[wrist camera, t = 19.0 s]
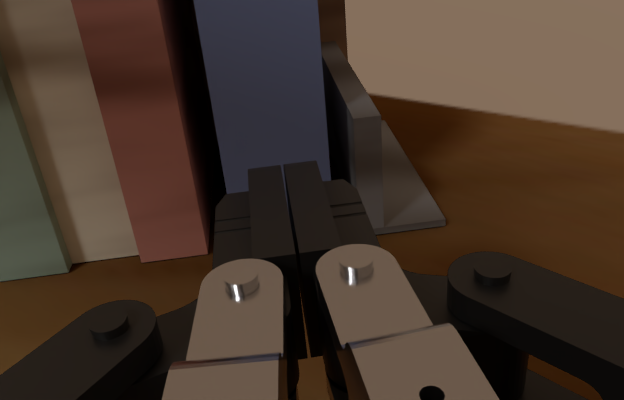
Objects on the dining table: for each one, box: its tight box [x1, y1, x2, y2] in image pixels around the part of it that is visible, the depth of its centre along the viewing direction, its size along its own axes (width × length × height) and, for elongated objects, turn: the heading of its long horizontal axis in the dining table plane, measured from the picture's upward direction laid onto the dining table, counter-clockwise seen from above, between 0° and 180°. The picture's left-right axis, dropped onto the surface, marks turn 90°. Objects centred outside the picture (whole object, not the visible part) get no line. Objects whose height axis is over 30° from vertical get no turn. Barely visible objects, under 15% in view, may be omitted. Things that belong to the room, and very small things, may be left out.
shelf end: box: [0, 0, 446, 281], centre depth 25 cm, size 12×18×16 cm, turn 97°
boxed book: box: [193, 0, 331, 212], centre depth 25 cm, size 10×4×14 cm, turn 10°
